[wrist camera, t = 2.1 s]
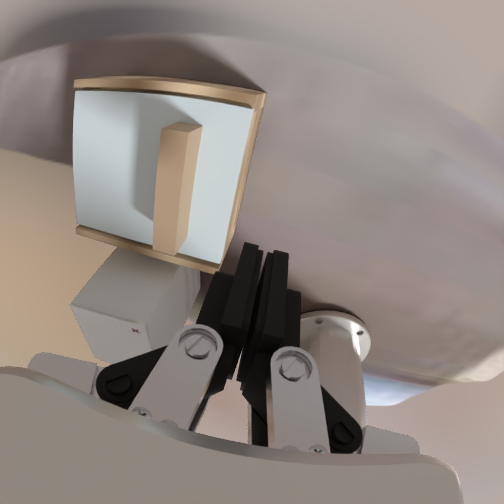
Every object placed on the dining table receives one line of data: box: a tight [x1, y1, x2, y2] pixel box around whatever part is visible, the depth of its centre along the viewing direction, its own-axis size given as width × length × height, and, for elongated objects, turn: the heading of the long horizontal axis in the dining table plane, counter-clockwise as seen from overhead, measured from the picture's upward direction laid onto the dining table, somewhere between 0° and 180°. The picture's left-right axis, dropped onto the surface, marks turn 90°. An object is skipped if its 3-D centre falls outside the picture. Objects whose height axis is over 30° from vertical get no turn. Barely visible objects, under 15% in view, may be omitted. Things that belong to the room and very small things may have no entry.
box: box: [74, 75, 267, 274], centre depth 21 cm, size 13×13×7 cm
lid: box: [73, 90, 254, 264], centre depth 17 cm, size 13×11×3 cm
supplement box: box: [70, 247, 200, 364], centre depth 25 cm, size 7×7×13 cm
